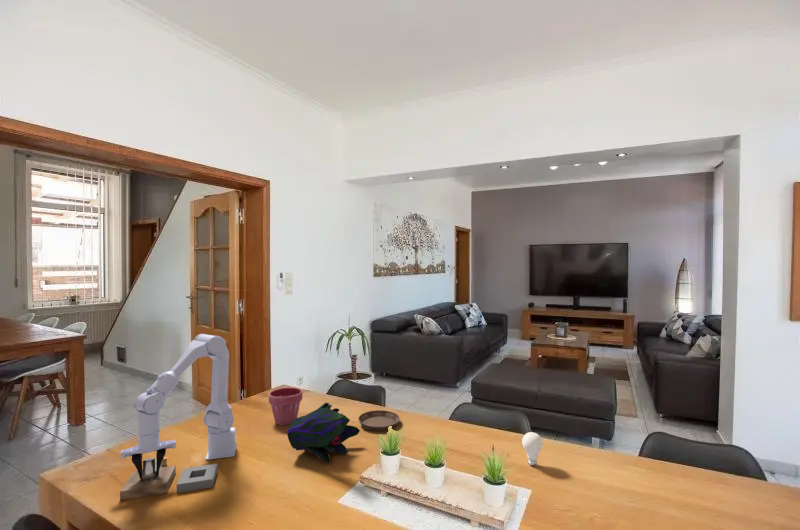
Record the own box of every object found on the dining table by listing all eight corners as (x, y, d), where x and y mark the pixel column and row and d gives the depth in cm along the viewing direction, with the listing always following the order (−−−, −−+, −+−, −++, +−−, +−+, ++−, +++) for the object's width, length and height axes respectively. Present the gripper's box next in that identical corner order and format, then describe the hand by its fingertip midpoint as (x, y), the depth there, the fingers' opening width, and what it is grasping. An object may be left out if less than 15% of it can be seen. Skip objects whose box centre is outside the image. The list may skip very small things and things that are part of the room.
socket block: (175, 472, 132) (175, 465, 132) (166, 492, 121) (166, 484, 121) (133, 478, 129) (133, 471, 129) (120, 500, 117) (120, 491, 117)
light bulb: (542, 462, 138) (542, 430, 138) (542, 471, 132) (542, 438, 132) (522, 459, 140) (522, 427, 140) (521, 468, 134) (521, 435, 134)
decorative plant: (315, 467, 154) (385, 457, 145) (270, 470, 132) (350, 459, 123) (314, 410, 163) (380, 398, 154) (272, 404, 142) (347, 389, 132)
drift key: (167, 464, 138) (167, 456, 137) (159, 479, 128) (159, 471, 128) (153, 466, 136) (153, 458, 136) (144, 481, 127) (143, 473, 127)
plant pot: (288, 412, 186) (288, 384, 185) (309, 419, 177) (309, 390, 177) (262, 422, 174) (261, 393, 174) (282, 430, 166) (282, 399, 166)
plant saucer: (407, 422, 174) (407, 415, 174) (384, 437, 160) (384, 429, 159) (374, 414, 184) (374, 407, 184) (349, 427, 169) (349, 420, 169)
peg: (156, 482, 127) (156, 456, 127) (154, 487, 124) (153, 461, 124) (145, 484, 126) (144, 458, 126) (142, 489, 123) (141, 463, 123)
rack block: (217, 471, 133) (217, 463, 133) (212, 487, 124) (212, 479, 124) (183, 476, 130) (183, 468, 130) (176, 492, 121) (176, 484, 121)
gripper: (175, 422, 132) (176, 463, 132) (122, 432, 125) (122, 475, 125) (175, 430, 126) (176, 473, 126) (119, 440, 119) (120, 486, 119)
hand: (149, 475), depth 125 cm, fingers open, 4 cm apart
